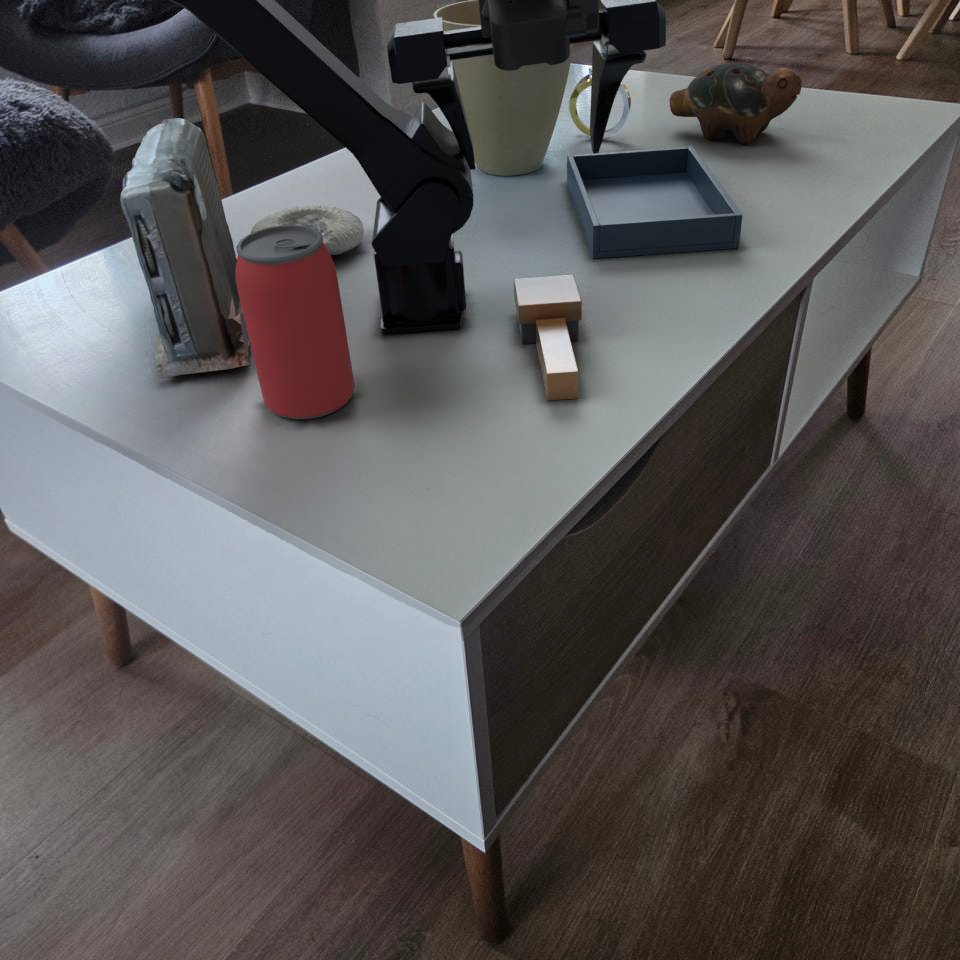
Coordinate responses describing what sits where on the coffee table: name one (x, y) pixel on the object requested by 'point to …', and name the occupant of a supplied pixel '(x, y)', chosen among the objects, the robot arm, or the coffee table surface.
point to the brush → (551, 328)
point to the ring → (581, 85)
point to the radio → (185, 251)
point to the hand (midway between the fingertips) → (533, 160)
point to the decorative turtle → (736, 99)
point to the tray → (651, 203)
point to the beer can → (294, 321)
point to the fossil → (321, 225)
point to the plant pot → (505, 102)
